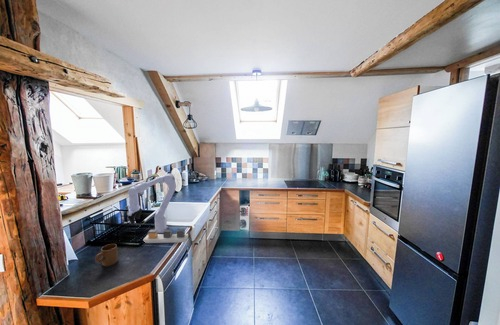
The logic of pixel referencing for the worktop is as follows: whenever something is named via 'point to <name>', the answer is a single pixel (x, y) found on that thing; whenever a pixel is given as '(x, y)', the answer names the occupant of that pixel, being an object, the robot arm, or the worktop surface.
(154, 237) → the plug
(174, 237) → the pdu strip
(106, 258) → the mug
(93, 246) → the worktop surface
